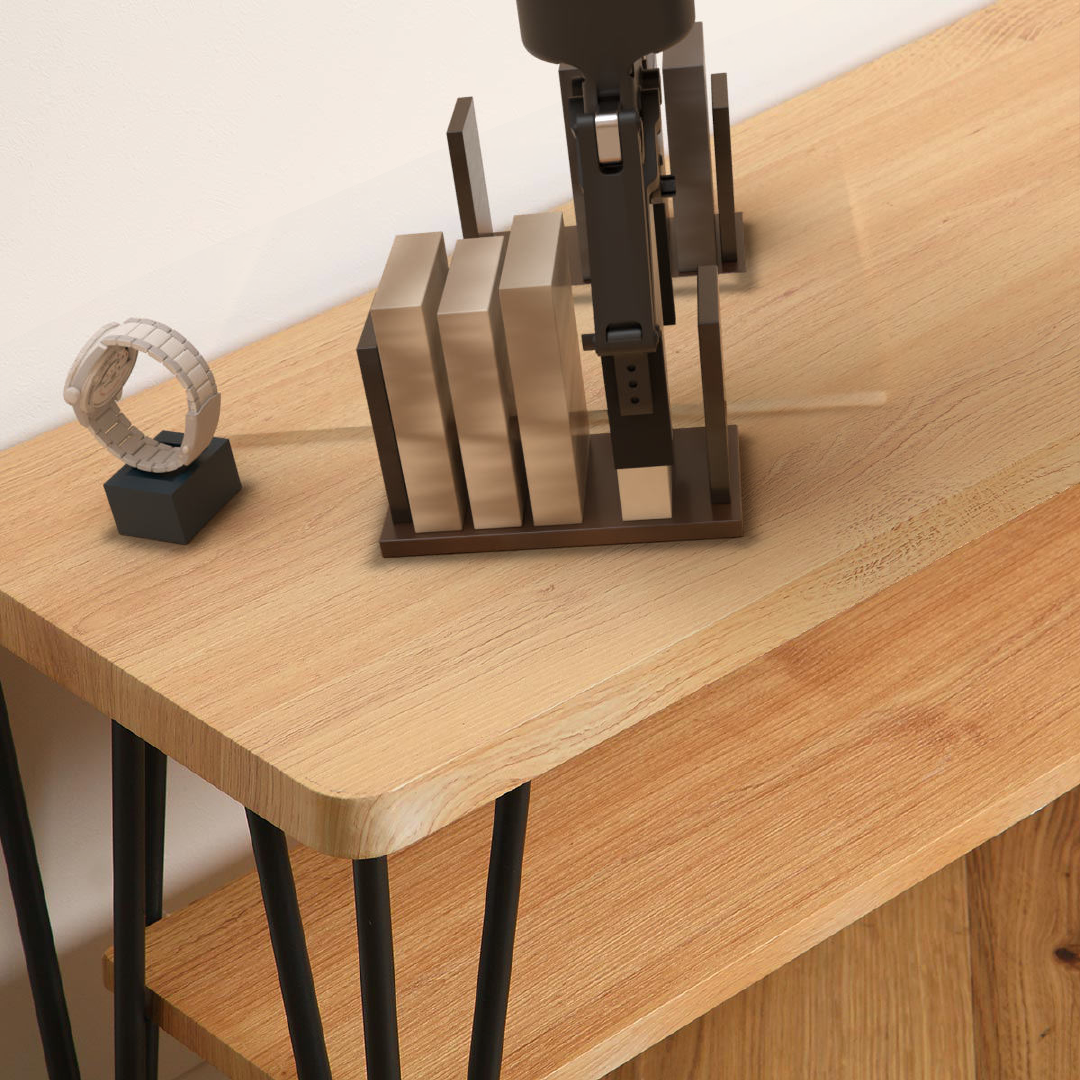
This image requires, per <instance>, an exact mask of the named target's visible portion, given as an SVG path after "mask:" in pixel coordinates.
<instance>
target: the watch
mask: <svg viewBox="0 0 1080 1080" xmlns="http://www.w3.org/2000/svg"><path fill="white" fill-rule="evenodd" d="M139 352H142V353H143V354H147V355H148V356H149V357H151V358H152V359H153V360H155V361H157V362H158V363H160V364H161V363H162V365H163V367H164V368H166V369H167V370H168V371H169V372H170V373H171V374H172V375H175V378H176V380H177V381H178V383H179V384H180V385H181V387H182V388H183V389H185V391H184V392H185V394H186V402H187V408H188V411H187V412H186V414H185V422H184V423H185V425H184V432H181V431H173V430H164V429H162V430H161V431H160V432H159V433H157V434H156V435H155V436H154V437H153V438H152V437H150V436H148V435H145V433H144V432H142V431H141V430H140V429H139V428H138V427H136V425H132V422H131V421H130V419H128V417H127V416H126V415H125V414H124V413H123V412H121V408H120V406H119V405H118V402H119V401H120V400H121V399H122V396H123V392H124V391H123V390H124V387H125V385H126V383H128V380H129V378H130V376H131V375H132V372H133V371H134V369H135V366H136V363H137V359H138V356H139ZM203 356H204V355H202V354H200V352H199V350H198V349H197V348H196V346H194V344H192V343H191V341H189V340H188V339H187V338H186V337H185V336H184V335H183V334H182V333H180V332H178V331H177V330H176V329H173V328H171V327H170V326H169V325H166V324H165V323H163V322H161V321H156V320H154V319H151V318H145V317H144V318H140V317H128V318H127V319H126V320H125V321H123V322H122V323H119V322H118V321H112V322H109V323H107V324H104V326H102V327H101V328H99V329H98V330H97V331H96V332H95V333H94V334H93V335H92V336H91V337H90V338H89V339H88V340H87V341H86V342H85V344H84V345H83V347H82V348H81V349H80V351H79V352H78V354H77V355H76V357H75V358H74V361H73V363H72V364H71V366H70V368H69V371H68V373H67V376H66V379H65V381H64V384H63V391H62V397H63V400H64V402H65V403H66V404H68V405H69V406H71V407H72V410H73V412H74V414H75V417H76V418H77V421H78V423H79V424H80V426H82V427H83V428H85V429H87V430H88V431H89V432H90V434H91V435H93V438H94V439H95V440H96V441H97V443H98V444H99V445H101V446H102V447H103V448H104V449H106V451H107V452H108V453H109V454H111V455H112V456H113V457H114V458H116V459H118V460H120V461H121V462H122V463H124V465H123V466H121V468H119V469H118V470H117V471H116V472H115V473H114V474H113V475H111V476H110V477H109V478H108V479H107V480H106V481H105V482H104V483H103V484H102V486H103V489H104V493H105V495H106V499H107V501H108V505H109V507H110V510H111V511H110V512H111V513H112V516H113V520H114V522H115V526H116V528H117V532H118V534H119V535H123V536H131V537H138V538H143V539H149V540H156V541H161V542H167V543H175V544H179V545H187V544H188V543H190V542H191V541H192V540H193V539H194V538H195V536H196V535H197V534H198V533H199V532H200V531H201V530H202V529H203V528H205V526H206V525H207V524H208V523H209V522H210V521H211V520H212V519H213V518H214V517H215V516H216V515H217V514H218V513H219V512H220V511H221V510H222V509H223V508H224V507H225V506H226V505H227V503H229V502H230V501H231V500H232V499H233V498H234V497H235V495H237V494H238V492H239V491H241V489H242V488H243V485H242V482H241V478H240V475H239V471H238V467H237V463H236V459H235V456H234V452H233V449H232V445H231V441H230V439H229V438H228V437H227V438H226V437H220V436H215V434H216V432H217V431H216V430H217V427H218V425H219V422H220V421H219V420H220V417H221V407H222V406H221V405H222V393H221V392H220V391H219V392H218V385H217V383H216V378H215V375H214V373H213V372H212V369H211V368H210V365H209V364H208V362H207V361H206V359H205V358H204V357H203Z"/></svg>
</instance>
